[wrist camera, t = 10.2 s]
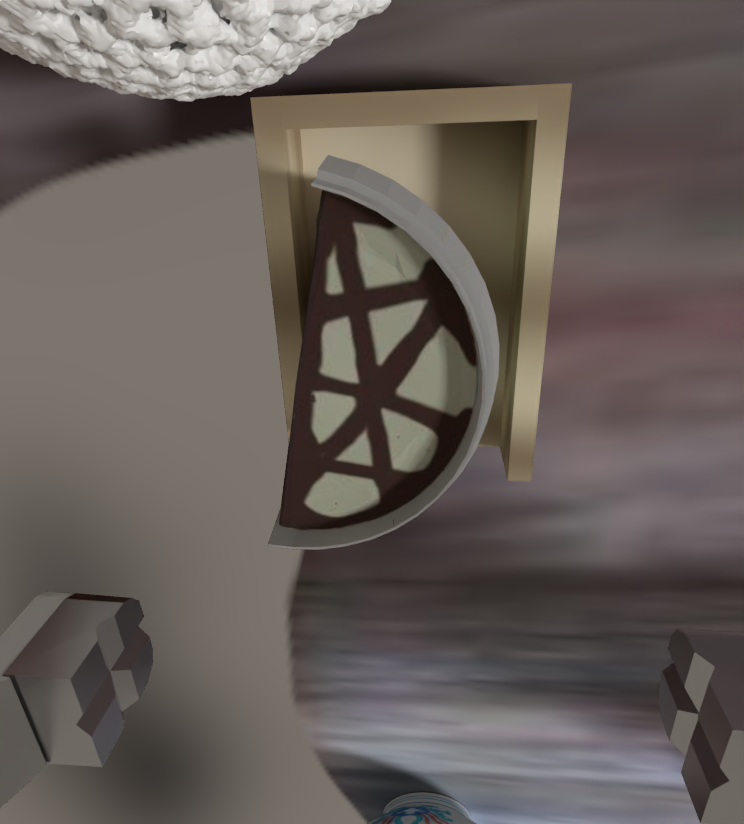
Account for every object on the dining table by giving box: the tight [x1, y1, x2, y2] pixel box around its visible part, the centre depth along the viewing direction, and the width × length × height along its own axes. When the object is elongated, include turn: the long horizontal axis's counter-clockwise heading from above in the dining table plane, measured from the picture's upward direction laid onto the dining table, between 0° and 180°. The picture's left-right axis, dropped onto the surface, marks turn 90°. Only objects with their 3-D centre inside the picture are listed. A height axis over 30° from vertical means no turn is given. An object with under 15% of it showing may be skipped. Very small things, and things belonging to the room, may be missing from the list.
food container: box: [268, 155, 500, 550], centre depth 21 cm, size 12×6×10 cm, turn 170°
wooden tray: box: [250, 83, 572, 481], centre depth 24 cm, size 15×10×4 cm
